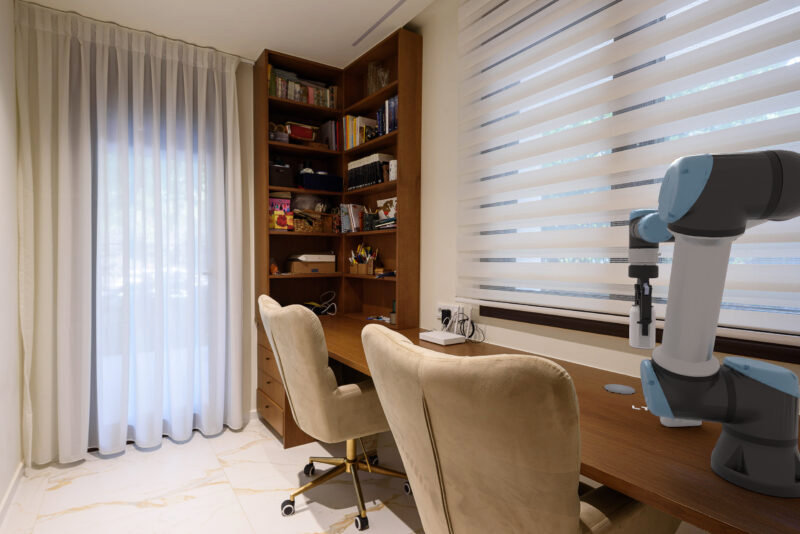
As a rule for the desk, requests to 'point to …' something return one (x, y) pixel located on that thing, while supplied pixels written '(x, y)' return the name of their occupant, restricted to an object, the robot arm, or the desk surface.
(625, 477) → the desk surface
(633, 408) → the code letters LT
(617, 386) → the felt coaster
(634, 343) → the can
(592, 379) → the desk surface
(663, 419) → the photo printer
